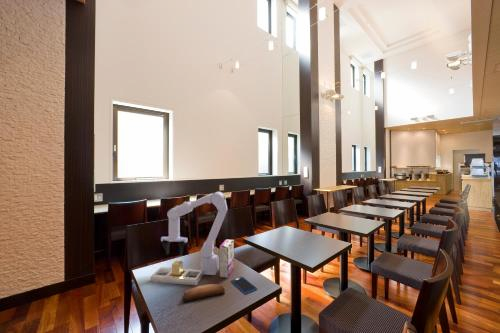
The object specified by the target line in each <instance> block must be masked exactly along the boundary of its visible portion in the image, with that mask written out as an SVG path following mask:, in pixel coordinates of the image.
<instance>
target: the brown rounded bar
mask: <svg viewBox="0 0 500 333" xmlns="http://www.w3.org/2000/svg"><path fill="white" fill-rule="evenodd" d="M225 291H226V290H225V287H224V285H223V284H217V283H216V284H215V283H209V284H201V285H198V286H196V287H192V288H190V289H187V290H185V291H183V303H185V302H190V301H193V300H197V299H201V298H206V297H211V296H215V295H221V294H225V293H226V292H225Z"/></svg>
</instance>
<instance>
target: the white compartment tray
mask: <svg viewBox="0 0 500 333" xmlns="http://www.w3.org/2000/svg"><path fill="white" fill-rule="evenodd" d="M202 277H204V274H203V270H201V269H194V268H183V274H182V276H181V277H179V276H172V267H164V266H163V267H160V268H159V269H157V270H156V271H155V272H154V273H153V274H151V276H150V278H149V279H150V282H152V283H165V284H166V283H167V284H176V285H177V284H178V285H179V284H180V285H190V286H197V285H198V283H199V282H200V280H201V278H202Z"/></svg>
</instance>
